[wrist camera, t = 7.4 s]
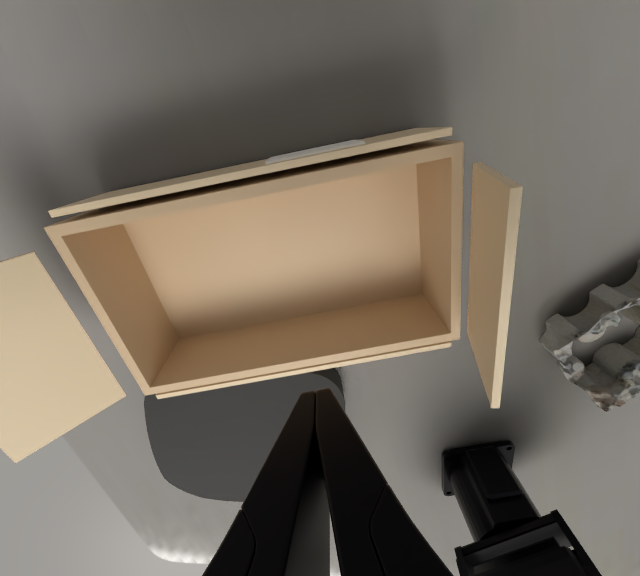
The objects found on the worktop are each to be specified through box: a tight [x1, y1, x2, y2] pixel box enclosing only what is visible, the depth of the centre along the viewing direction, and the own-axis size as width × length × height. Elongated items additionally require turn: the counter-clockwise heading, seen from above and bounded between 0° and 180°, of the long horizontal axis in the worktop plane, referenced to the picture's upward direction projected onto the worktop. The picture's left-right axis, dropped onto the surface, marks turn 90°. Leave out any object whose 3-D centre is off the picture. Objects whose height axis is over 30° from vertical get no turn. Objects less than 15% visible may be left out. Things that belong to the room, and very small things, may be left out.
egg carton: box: [539, 259, 640, 412], centre depth 22 cm, size 11×8×4 cm
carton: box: [44, 127, 464, 399], centre depth 17 cm, size 11×18×5 cm, turn 101°
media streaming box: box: [144, 368, 345, 502], centre depth 25 cm, size 15×15×3 cm
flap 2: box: [467, 162, 523, 408], centre depth 12 cm, size 8×1×5 cm, turn 11°
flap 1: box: [0, 251, 126, 463], centre depth 14 cm, size 8×1×5 cm
